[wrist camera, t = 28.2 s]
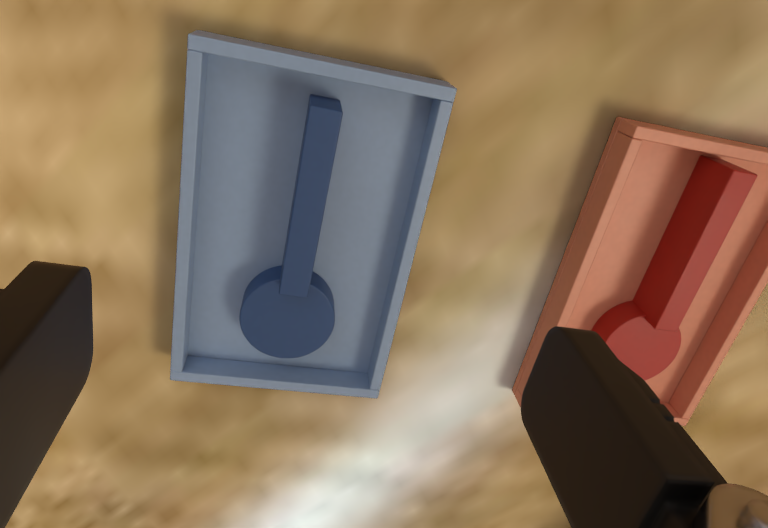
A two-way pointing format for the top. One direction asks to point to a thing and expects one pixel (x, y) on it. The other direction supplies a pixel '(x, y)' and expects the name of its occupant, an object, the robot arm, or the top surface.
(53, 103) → the top surface
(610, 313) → the red spoon
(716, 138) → the red tray
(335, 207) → the blue tray
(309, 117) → the blue spoon
